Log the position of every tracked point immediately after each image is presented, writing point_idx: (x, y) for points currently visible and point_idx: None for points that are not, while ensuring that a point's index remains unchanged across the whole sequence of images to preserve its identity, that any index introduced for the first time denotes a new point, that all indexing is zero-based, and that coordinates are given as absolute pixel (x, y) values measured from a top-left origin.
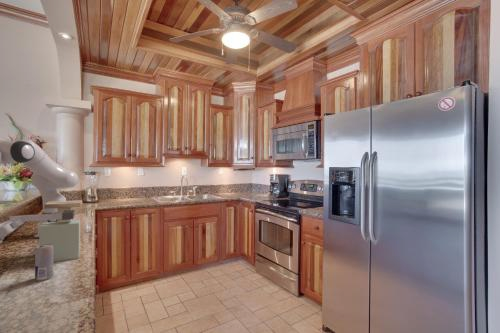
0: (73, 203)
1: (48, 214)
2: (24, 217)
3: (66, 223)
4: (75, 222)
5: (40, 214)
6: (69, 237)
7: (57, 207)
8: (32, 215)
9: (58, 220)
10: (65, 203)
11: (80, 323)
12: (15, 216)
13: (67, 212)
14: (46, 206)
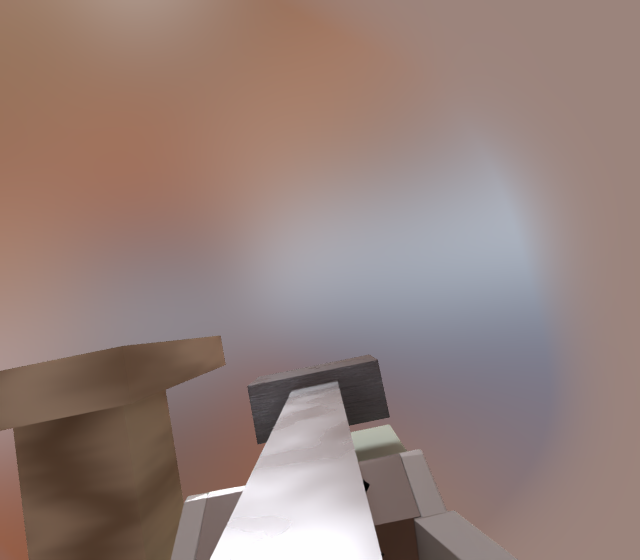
0: (210, 340)
1: (332, 398)
2: (421, 459)
3: (373, 451)
4: (357, 437)
5: (293, 422)
6: None
7: (179, 376)
8: (330, 435)
9: (148, 536)
10: (192, 339)
11: None
12: (320, 544)
13: (357, 360)
14: (136, 370)
